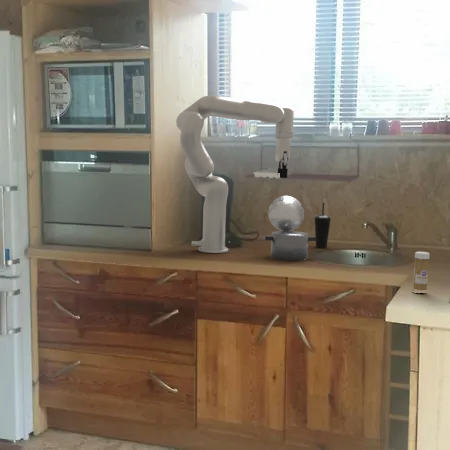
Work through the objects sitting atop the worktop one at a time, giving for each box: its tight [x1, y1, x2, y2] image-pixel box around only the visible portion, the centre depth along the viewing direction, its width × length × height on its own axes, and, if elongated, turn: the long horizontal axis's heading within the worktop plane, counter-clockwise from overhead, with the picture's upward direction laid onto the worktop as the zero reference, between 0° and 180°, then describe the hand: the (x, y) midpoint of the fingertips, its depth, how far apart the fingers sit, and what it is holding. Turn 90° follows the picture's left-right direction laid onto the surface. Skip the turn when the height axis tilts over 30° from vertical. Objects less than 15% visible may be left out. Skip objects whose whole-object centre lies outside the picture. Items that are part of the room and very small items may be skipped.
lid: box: [267, 195, 305, 231], centre depth 297 cm, size 15×15×3 cm
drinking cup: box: [313, 202, 332, 249], centre depth 316 cm, size 8×8×20 cm
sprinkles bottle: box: [412, 251, 431, 291], centre depth 229 cm, size 5×5×14 cm
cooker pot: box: [263, 230, 316, 262], centre depth 288 cm, size 21×16×10 cm
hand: (282, 177), depth 307 cm, fingers open, 4 cm apart
